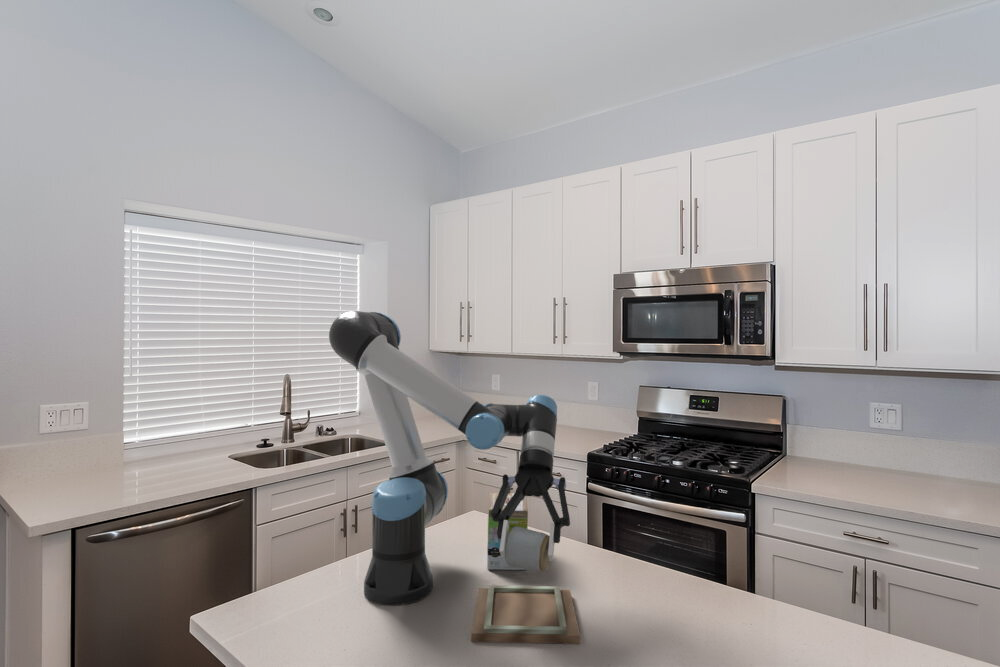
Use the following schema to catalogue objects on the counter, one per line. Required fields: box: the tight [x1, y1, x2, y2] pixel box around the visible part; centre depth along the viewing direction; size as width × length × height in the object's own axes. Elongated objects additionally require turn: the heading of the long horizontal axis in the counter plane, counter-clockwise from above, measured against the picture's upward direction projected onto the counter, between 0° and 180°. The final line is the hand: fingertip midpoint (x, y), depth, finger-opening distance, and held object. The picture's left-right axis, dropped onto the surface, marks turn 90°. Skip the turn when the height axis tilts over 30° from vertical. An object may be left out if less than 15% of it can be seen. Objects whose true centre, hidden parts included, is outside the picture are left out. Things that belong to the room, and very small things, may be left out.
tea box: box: [486, 492, 529, 571], centre depth 138 cm, size 15×10×15 cm
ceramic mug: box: [505, 526, 552, 572], centre depth 111 cm, size 11×8×8 cm
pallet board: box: [470, 584, 581, 645], centre depth 109 cm, size 20×18×2 cm
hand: (526, 556), depth 106 cm, fingers closed on ceramic mug, 9 cm apart
